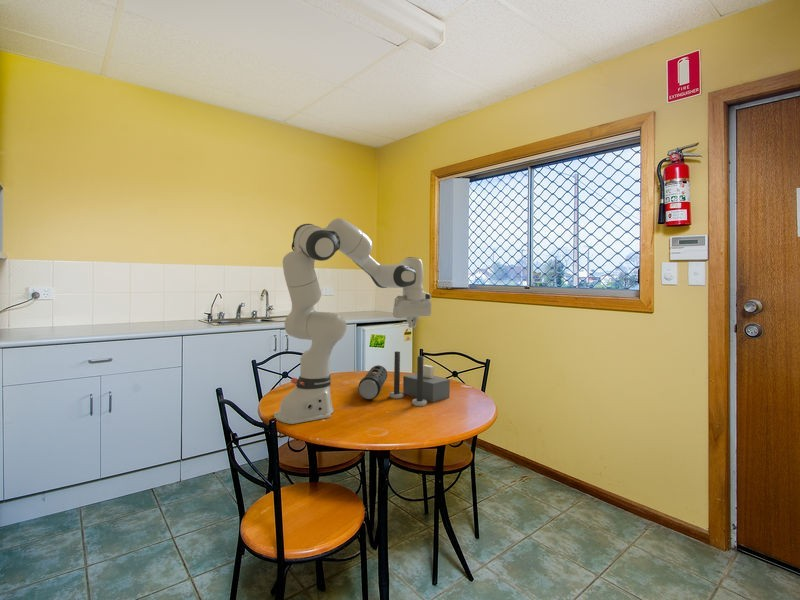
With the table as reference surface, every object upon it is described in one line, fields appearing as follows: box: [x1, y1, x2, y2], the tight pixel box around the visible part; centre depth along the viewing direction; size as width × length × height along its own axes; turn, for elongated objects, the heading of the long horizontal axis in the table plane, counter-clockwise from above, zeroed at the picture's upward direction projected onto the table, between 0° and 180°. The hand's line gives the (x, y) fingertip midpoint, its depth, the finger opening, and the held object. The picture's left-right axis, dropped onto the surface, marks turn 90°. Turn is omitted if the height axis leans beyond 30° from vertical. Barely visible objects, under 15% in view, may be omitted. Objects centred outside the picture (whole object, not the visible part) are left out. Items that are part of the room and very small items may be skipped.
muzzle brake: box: [357, 364, 388, 400], centre depth 188 cm, size 10×28×10 cm, turn 174°
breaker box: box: [402, 372, 451, 403], centre depth 186 cm, size 11×18×8 cm, turn 44°
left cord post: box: [389, 351, 404, 400], centre depth 183 cm, size 6×6×20 cm
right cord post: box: [411, 355, 428, 407], centre depth 173 cm, size 6×6×20 cm
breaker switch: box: [423, 364, 435, 378], centre depth 186 cm, size 2×5×5 cm, turn 44°
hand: (412, 327), depth 179 cm, fingers closed
